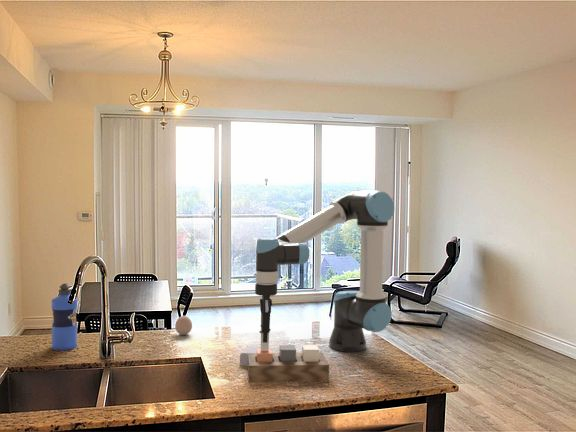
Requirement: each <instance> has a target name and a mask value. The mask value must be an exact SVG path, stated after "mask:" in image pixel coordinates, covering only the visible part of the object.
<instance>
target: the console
mask: <svg viewBox="0 0 576 432" xmlns="http://www.w3.org/2000/svg"><path fill="white" fill-rule="evenodd" d="M256 360H257V353H248V366H247V378H248V383H253V382H254V383H259V382H260V383H262V382H265V383H266V382H267V383H268V382H269V383H270V382H328V381H329V379H330V377H329V376H330V363H329V361H328V360H327V359H326V356H325V355H324V352H319V362H303V361H302V352H296V362H279V352H273V362H256Z"/></svg>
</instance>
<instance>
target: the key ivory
mask: <svg viewBox="0 0 576 432" xmlns="http://www.w3.org/2000/svg"><path fill="white" fill-rule="evenodd" d="M301 353H302V361H303V362H319V353H320V349H319V347H318V345H317V344H302V345H301Z"/></svg>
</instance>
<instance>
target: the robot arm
mask: <svg viewBox="0 0 576 432" xmlns="http://www.w3.org/2000/svg"><path fill="white" fill-rule="evenodd" d="M394 213H395V203H394V200H393V198H392V197H391V196H390V195H389V194H388V193H387V192H385V191H382V190H377V189H373V190H372V189H371V190H368V189H367V190H362V189H357V190H356V189H355V190H352V191H350V192H348V193H346V194H344V195H343V194H342V196H340V197H338V198H337V199H335V200H333V201H331V202H330V203H329V206H327V207H326V208H324V209H323V210H321V211H319V212H317V213H315V214H314V215H312V216H310V217H308V218H307V219H306V220H304V221H302V222H300V223H298V224H297V225H294V227H292V228H290V229H288V230H286V231H284V232H283V233H281V234H279V235H277V236H276V237H259V238H258V239H257V240H256V248H255V272H254V273H253V276H255V284H254V285H255V287H254V291H255V292H254V293H255V295H257V296H261V298H259V304H260V330H259V334H260V347H261V348H260V350H261V351H269V349H270V348H269V347H270V346H269V345H270V344H269V343H270V332H271V327H270V326H271V312H272V306H273V300H272V298H270V297H271V296H272V297H273V296H277V294H278V284H277V283H278V278H279V276H278V275H279V270H278V269H279V266H285V265H286V266H287V265H301V264H302V265H303V264H306V263H307V262H308V261H309V259H310V249H309V246H308V245H307V244H306V243H307V242H309V241H311V240H313V239H314V238H315V237H316V238H317V237H318V236H319V235H321V234H322V233H324V232H325V231H326V232H327V230H329V229H331V228H333V227H334V226H337V224H344V223H345V222H348V221H352V220H356V225H357V227H358V228H359V229H360V260H359V261H360V262H359V263H360V264H359V265H360V268H359V270H360V271H359V290H343V291H337V292H336V293H335V294H334V295H335V297H334V314H333V317H334V318H333V319H334V320H333V321H334V322H333V329H332V332H331V335H330V337H329V343H328V345H329V348H331V349H333V350H336V351H340V352H346V353H348V352H349V353H356V352H362V351H364V350H366V349H367V348H366V347H367V340H366V337H365V334H364V331H363V330H366V331H368V332H373V333H379V332H382V331H384V330H385V329H386V328H387V327H388V326H389V324H390V323H391V321H392V320H391V319H392V317H393V316H392V315H393V312H392V311H393V310H392V309H391V307H390V306H389V304H387V296H386V294H385V292H383V271H384V269H383V268H384V267H383V266H384V265H383V262H384V231H385V229H386V228H387V227H388V226H389V225H388V224H389V223H388V222H389V221H390V220H391V219H392V217H393V216H394Z"/></svg>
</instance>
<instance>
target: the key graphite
mask: <svg viewBox="0 0 576 432" xmlns="http://www.w3.org/2000/svg"><path fill="white" fill-rule="evenodd" d="M278 353H279V362H296V353H297V348H296V346H295V345H294V344H292V345H291V344H288V345H286V344H285V345H284V344H283V345H281V344H280V345H279V350H278Z"/></svg>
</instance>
